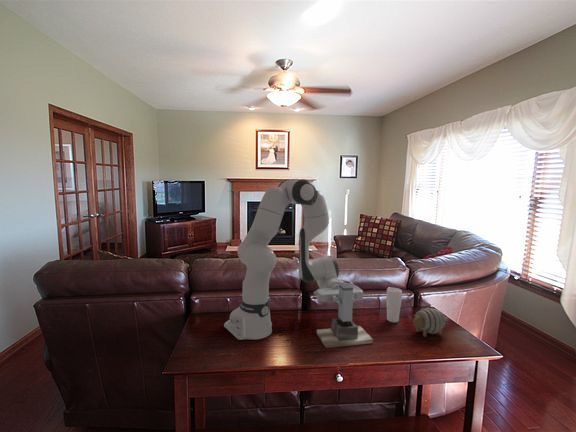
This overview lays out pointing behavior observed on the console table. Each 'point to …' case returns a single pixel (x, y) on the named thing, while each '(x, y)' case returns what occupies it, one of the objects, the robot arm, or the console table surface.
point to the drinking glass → (393, 304)
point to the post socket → (343, 334)
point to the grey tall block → (345, 302)
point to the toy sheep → (429, 321)
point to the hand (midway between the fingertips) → (346, 301)
